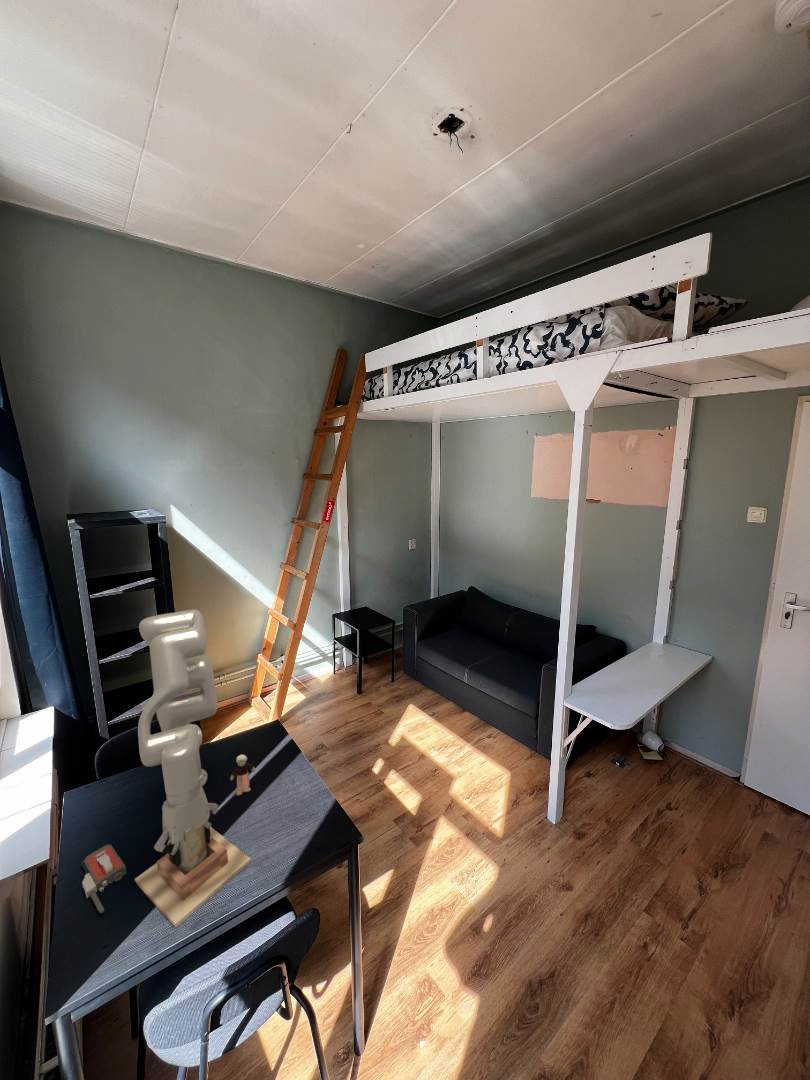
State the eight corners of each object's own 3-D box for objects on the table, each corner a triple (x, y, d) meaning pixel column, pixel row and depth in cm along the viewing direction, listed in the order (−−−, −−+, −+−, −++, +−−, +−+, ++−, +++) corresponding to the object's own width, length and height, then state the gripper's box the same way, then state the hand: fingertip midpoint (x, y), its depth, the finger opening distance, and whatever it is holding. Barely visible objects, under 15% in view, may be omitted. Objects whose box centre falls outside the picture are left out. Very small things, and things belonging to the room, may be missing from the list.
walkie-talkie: (73, 872, 114) (97, 920, 102) (70, 857, 113) (94, 904, 101) (111, 849, 121) (139, 891, 108) (109, 835, 120) (136, 876, 107)
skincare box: (192, 875, 109) (186, 833, 106) (177, 872, 109) (171, 830, 107) (208, 853, 115) (203, 812, 113) (194, 850, 116) (188, 810, 114)
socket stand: (135, 882, 110) (132, 865, 109) (208, 827, 126) (206, 812, 125) (175, 928, 99) (173, 909, 98) (250, 861, 115) (249, 845, 114)
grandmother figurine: (235, 799, 137) (231, 763, 135) (231, 793, 140) (226, 757, 137) (258, 787, 142) (255, 752, 140) (254, 781, 145) (250, 747, 142)
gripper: (207, 765, 118) (214, 822, 121) (139, 807, 104) (149, 870, 107) (223, 775, 113) (230, 834, 116) (154, 821, 99) (164, 886, 102)
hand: (191, 851), depth 112 cm, fingers closed on skincare box, 7 cm apart
